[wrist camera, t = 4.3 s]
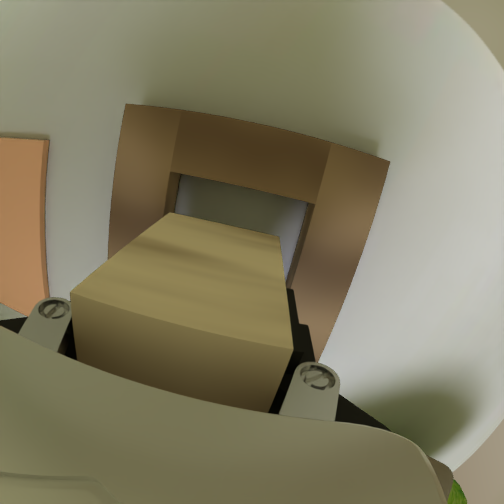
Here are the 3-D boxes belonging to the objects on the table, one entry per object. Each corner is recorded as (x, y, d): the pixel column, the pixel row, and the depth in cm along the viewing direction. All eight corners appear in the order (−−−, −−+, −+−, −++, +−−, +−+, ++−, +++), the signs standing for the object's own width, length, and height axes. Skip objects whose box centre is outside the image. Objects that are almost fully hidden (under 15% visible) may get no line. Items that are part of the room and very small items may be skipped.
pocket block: (309, 354, 20) (311, 374, 18) (120, 309, 19) (108, 325, 17) (376, 158, 15) (390, 161, 13) (141, 106, 15) (125, 103, 13)
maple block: (253, 329, 15) (243, 466, 8) (158, 307, 15) (90, 424, 8) (279, 236, 14) (293, 349, 6) (169, 212, 13) (69, 291, 6)
